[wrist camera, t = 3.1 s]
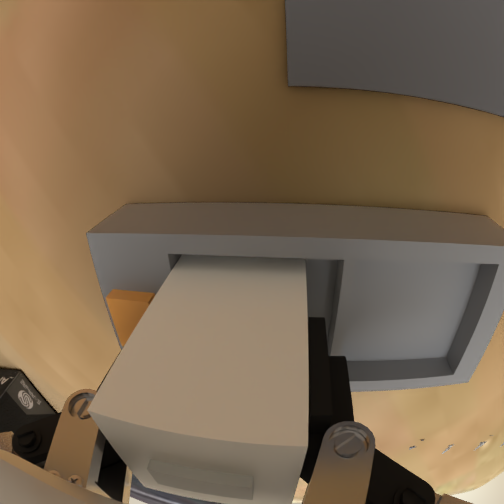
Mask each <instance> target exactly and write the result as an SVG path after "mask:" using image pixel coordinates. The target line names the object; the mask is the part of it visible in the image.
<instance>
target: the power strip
mask: <svg viewBox="0 0 504 504" xmlns="http://www.w3.org/2000/svg"><path fill="white" fill-rule="evenodd" d="M86 235H87V239H88V243H89V247H90V251H91V255H92V259H93V263H94V267H95V270H96V274H97V277H98V281H99V284H100V288H101V291H102V294H103V298H104V301H105V304H106V307H107V310H108V313H109V316H110V319H111V322H112V325H113V328H114V331H115V334H116V337H117V339H118V342H119V345H120V348H121V350H122V348H123V347H124V345H125V343H126V342H127V340H128V339H129V337H130V335H131V334H132V332H133V331H134V329H135V327H136V326H137V324H138V322H139V321H140V319H141V318H142V316H143V314H144V313H145V311H146V310H147V308H148V306H149V305H150V303H151V302H152V300H153V299H154V297H155V295H156V294H157V292H158V291H159V289H160V288H161V286H162V284H163V283H164V281H165V280H166V278H167V277H168V275H169V274H170V272H171V271H172V269H173V268H174V266H175V265H176V263H177V262H178V260H179V258H180V257H181V255H182V254H184V255H210V256H236V257H263V258H291V259H305V264H306V286H307V314H308V317H325V324H326V334H327V344H328V356H345V357H346V360H347V367H348V374H349V382H350V390H351V392H360V391H385V390H402V389H415V388H426V387H435V386H444V385H452V384H460V383H467V382H469V380H470V378H471V376H472V375H473V373H474V371H475V369H476V367H477V365H478V364H479V362H480V360H481V358H482V356H483V354H484V352H485V350H486V348H487V346H488V344H489V342H490V340H491V338H492V336H493V334H494V331H495V329H496V327H497V325H498V322H499V320H500V318H501V316H502V313H503V311H504V229H503V228H502V227H501V226H499V225H498V224H497V223H495V222H494V221H493V220H492V219H490V218H489V217H488V216H482V215H472V214H462V213H451V212H440V211H427V210H414V209H400V208H385V207H367V206H348V205H324V204H293V203H225V202H211V203H144V204H125V205H124V206H123V207H121V208H120V209H118V210H117V211H115V212H114V213H113V214H111V215H110V216H109V217H107V218H106V219H104V220H103V221H102V222H100V223H99V224H98V225H96V226H95V227H94V228H92V229H91V230H90V231H88V232H87V233H86Z"/></svg>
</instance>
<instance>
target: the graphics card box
mask: <svg viewBox="0 0 504 504" xmlns="http://www.w3.org/2000/svg"><path fill="white" fill-rule="evenodd" d="M54 414H56V413H55V412H54V410H53V409H52V408H51V407H50V406H49V405H48V404H47V403H46V401H45V400H44V399H43V398H42V397H41V395H40V394H39V393H38V392H37V391H36V390H35V388H34V387H33V386H32V385H31V383H30V382H29V380H28V379H27V377H25V375H24V374H23V373H21V372H20V371H18V370H8V369H0V433H3V432H10V431H12V432H13V433H15V432H16V430H18V429H19V428H20V427H21V426H23V425H25V424H28V423H31V422H34V421H37V420H40V419H43V418H46V417H49V416H52V415H54Z"/></svg>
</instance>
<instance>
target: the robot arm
mask: <svg viewBox="0 0 504 504" xmlns="http://www.w3.org/2000/svg"><path fill="white" fill-rule="evenodd" d="M125 344H126V343H125ZM122 349H123V348H122ZM120 352H121V351H120ZM119 354H120V353H119ZM117 357H118V356H117ZM116 359H117V358H116ZM114 362H115V361H114ZM308 362H309V414H308V448H307V452H306V455H305V459H304V463H303V467H302V470H301V474H300V477H301V478H302V479H303V480H304V481H305V482H307V483H308V486H307V489H306V492H305V495H304V498H303V501H302V504H472V503H469V502H467V501H464V500H461V499H458V498H455V497H452V496H450V495H447V494H443V495H442V496H441V495H439V494H436V493H435V492H434V490H433V488H432V487H431V486H430V485H429V484H428V483H427V482H426V481H424V480H422V479H421V478H419V477H418V476H416V475H415V474H413V473H411V472H410V471H408V470H407V469H405V468H404V467H402V466H401V465H399V464H398V463H396V462H395V461H393V460H392V459H390V458H389V457H387V456H386V455H384V454H383V453H381V452H380V451H379V450H377V449H376V448H375V438H374V436H373V433H372V432H371V431H370V430H369V429H368V428H367V427H366V426H364V425H363V424H361V423H357V422H354V415H353V406H352V398H351V390H350V382H349V374H348V367H347V360H346V357H345V356H328V344H327V334H326V324H325V317H308ZM113 364H114V363H113ZM113 364H112V366H113ZM112 366H111V367H112ZM110 369H111V368H110ZM110 369H109V371H110ZM109 371H108V372H109ZM107 374H108V373H107ZM107 374H106V376H107ZM106 376H105V378H106ZM105 378H104V379H105ZM104 379H103V381H104ZM103 381H102V383H103ZM102 383H101V384H100V386H101V385H102ZM100 386H99V388H100ZM99 388H98V389H97V391H95V390H91V389H82V390H79V391H76V392H75V393H73V394H71V395H70V396H69V397H68V398H67V400H66V402H65V404H64V407H63V410H62V412H60V413H57V414H54V415H52V416H49V417H46V418H43V419H40V420H37V421H34V422H31V423H28V424H25V425H23V426H21V427H20V428H19V429H18V430H16V432H15V433H13V432H12V431H10V432H3V433H0V504H129V496H130V487H131V478H132V471H131V470H130V469H129V468H128V466H127V465H126V464H125V463H124V461H123V460H122V459H121V458H120V456H119V455H118V454H117V452H116V451H115V450H114V448H113V447H112V446H111V444H110V443H109V442H108V440H107V439H106V437H105V436H104V435H103V433H102V432H101V430H100V429H99V427H98V426H97V424H96V423H95V421H94V420H93V418H92V417H91V415H90V414H89V412H88V411H87V410H88V408H89V406H90V404H91V402H92V400H93V399H94V397H95V395H96V393H97V392H98V390H99Z"/></svg>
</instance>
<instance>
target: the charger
mask: <svg viewBox="0 0 504 504" xmlns="http://www.w3.org/2000/svg"><path fill="white" fill-rule="evenodd" d="M87 411H88V412H89V414H90V415H91V417H92V418H93V420H94V421H95V423H96V424H97V426H98V427H99V429H100V430H101V432H102V433H103V435H104V436H105V437H106V439H107V440H108V442H109V443H110V444H111V446H112V447H113V448H114V450H115V451H116V452H117V454H118V455H119V456H120V458H121V459H122V460H123V461H124V463H125V464H126V465H127V466H128V468H129V469H130V470H131V471H132V473H133V474H134V475H135V476H136V477H137V479H138V480H139V481H140V482H141V483H142V484H143V486H144V487H147V488H151V489H155V490H159V491H163V492H167V493H171V494H175V495H180V496H185V497H190V498H195V499H200V500H206V501H212V502H218V503H225V504H292V501H293V498H294V494H295V491H296V488H297V484H298V481H299V477H300V474H301V470H302V467H303V463H304V459H305V455H306V452H307V448H308V414H309V362H308V314H307V286H306V264H305V259H291V258H263V257H236V256H210V255H184V254H182V255H181V257H180V258H179V260H178V262H177V263H176V265H175V266H174V268H173V269H172V271H171V272H170V274H169V275H168V277H167V278H166V280H165V281H164V283H163V284H162V286H161V288H160V289H159V291H158V292H157V294H156V295H155V297H154V299H153V300H152V302H151V303H150V305H149V306H148V308H147V310H146V311H145V313H144V314H143V316H142V318H141V319H140V321H139V322H138V324H137V326H136V327H135V329H134V331H133V332H132V334H131V335H130V337H129V339H128V340H127V342H126V344H125V345H124V347H123V349H122V350H121V352H120V354H119V355H118V357H117V359H116V360H115V362H114V364H113V366H112V367H111V369H110V371H109V372H108V374H107V376H106V378H105V379H104V381H103V383H102V385H101V386H100V388H99V390H98V392H97V393H96V395H95V397H94V399H93V400H92V402H91V404H90V406H89V408H88V410H87Z"/></svg>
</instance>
